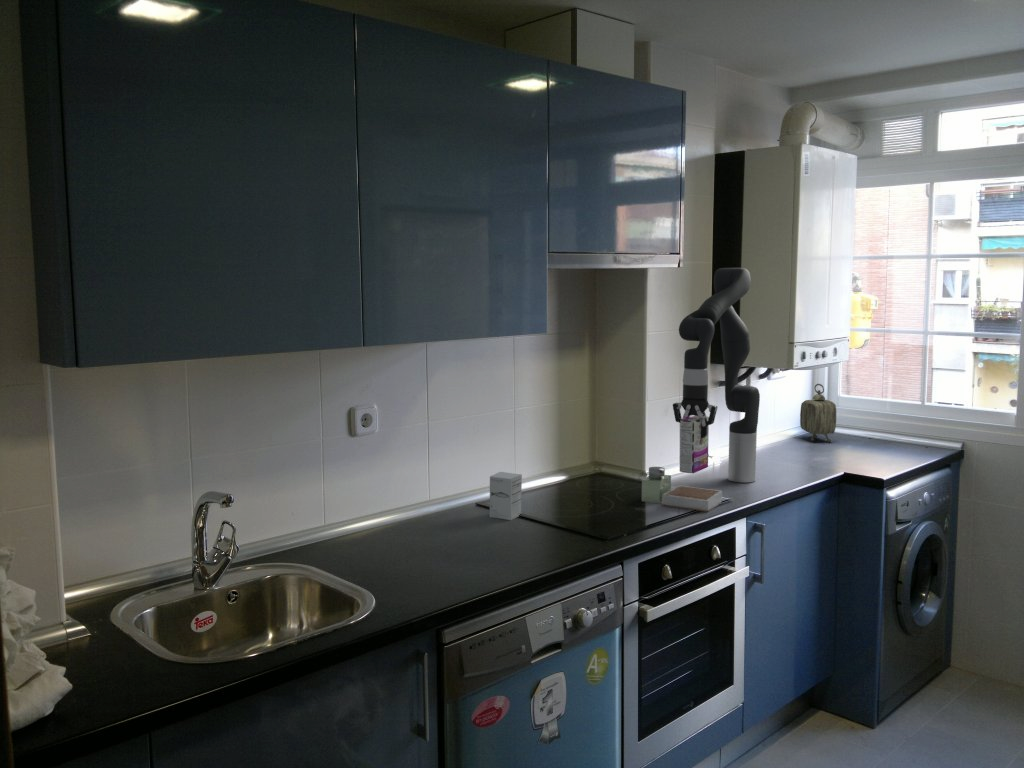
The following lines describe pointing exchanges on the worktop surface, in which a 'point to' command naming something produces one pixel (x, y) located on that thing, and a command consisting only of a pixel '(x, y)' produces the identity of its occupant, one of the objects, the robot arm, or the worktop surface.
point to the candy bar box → (693, 445)
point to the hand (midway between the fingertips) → (694, 436)
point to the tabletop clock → (818, 415)
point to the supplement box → (505, 495)
